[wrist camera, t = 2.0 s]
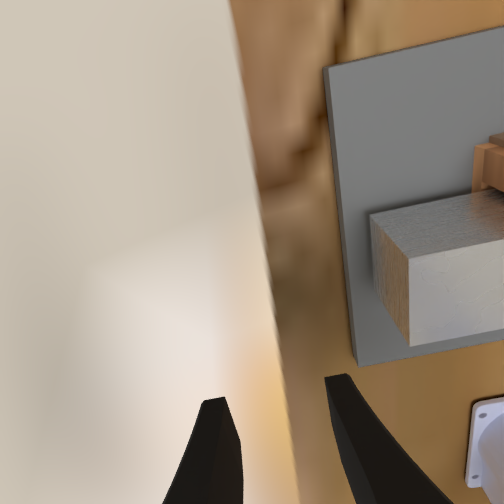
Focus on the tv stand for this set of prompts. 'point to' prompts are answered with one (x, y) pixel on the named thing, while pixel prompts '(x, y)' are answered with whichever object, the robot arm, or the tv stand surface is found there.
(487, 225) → the peg
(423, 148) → the mat
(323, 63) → the tv stand surface
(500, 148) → the housing
